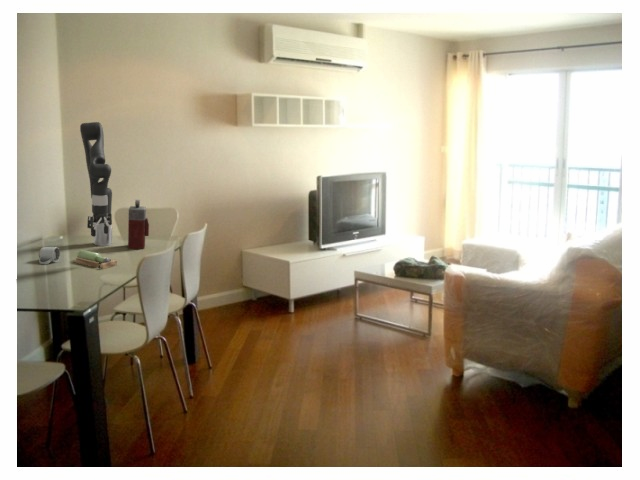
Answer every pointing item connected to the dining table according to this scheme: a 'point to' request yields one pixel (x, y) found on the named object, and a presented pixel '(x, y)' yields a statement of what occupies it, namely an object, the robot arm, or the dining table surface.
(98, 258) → the bottle
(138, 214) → the dark red tall container
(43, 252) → the ceramic mug
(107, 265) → the rest
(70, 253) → the dining table surface
